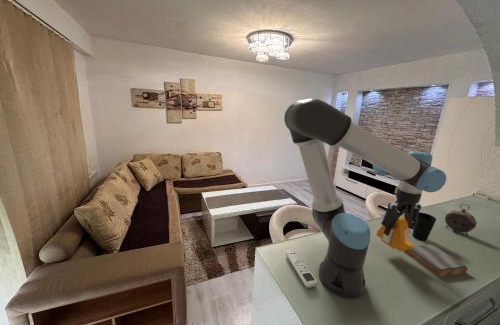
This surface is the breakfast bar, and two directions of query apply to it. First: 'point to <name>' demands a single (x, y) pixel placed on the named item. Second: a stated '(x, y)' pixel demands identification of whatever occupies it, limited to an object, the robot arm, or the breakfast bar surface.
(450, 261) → the plinth
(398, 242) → the bracket
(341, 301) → the breakfast bar surface
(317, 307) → the breakfast bar surface
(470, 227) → the alarm clock
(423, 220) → the cup
